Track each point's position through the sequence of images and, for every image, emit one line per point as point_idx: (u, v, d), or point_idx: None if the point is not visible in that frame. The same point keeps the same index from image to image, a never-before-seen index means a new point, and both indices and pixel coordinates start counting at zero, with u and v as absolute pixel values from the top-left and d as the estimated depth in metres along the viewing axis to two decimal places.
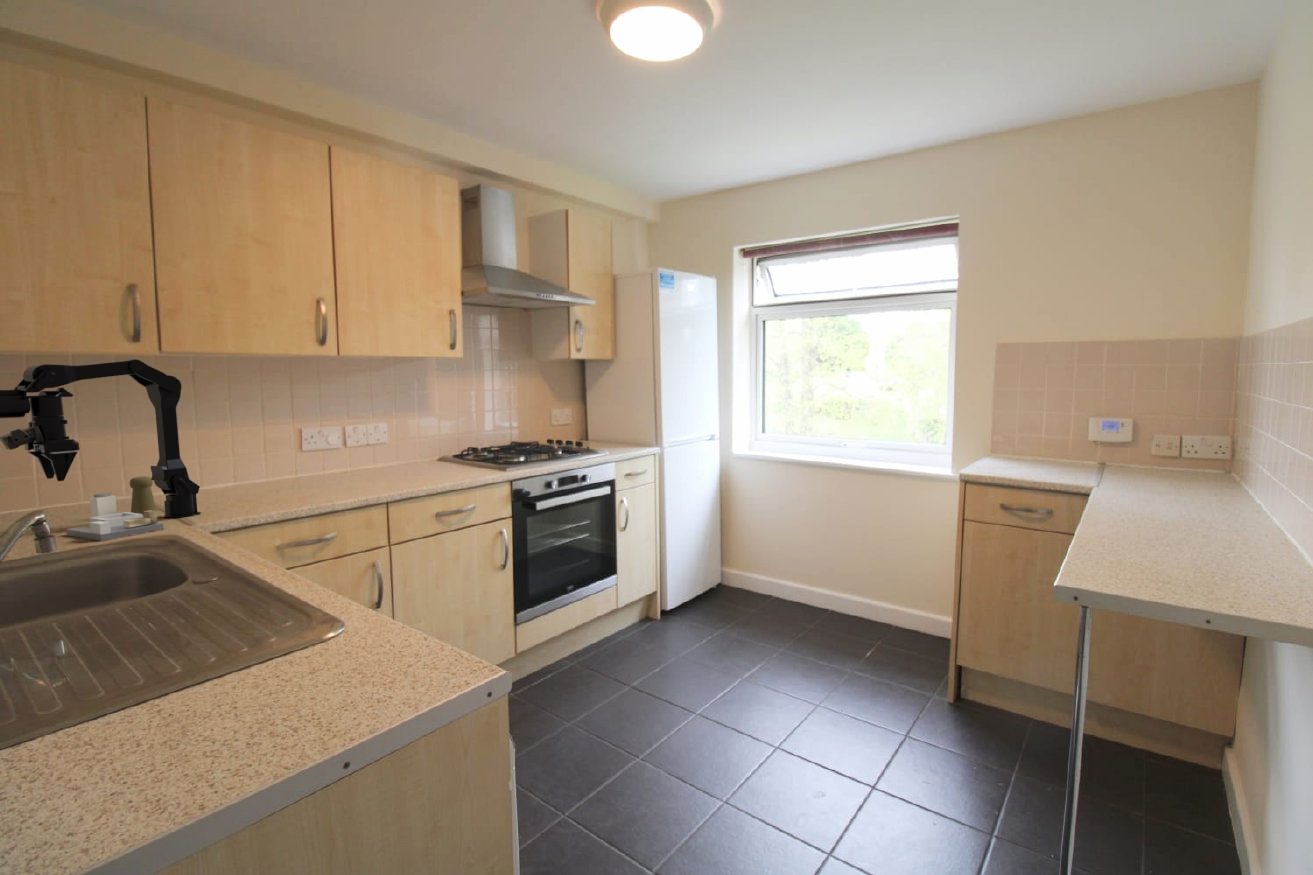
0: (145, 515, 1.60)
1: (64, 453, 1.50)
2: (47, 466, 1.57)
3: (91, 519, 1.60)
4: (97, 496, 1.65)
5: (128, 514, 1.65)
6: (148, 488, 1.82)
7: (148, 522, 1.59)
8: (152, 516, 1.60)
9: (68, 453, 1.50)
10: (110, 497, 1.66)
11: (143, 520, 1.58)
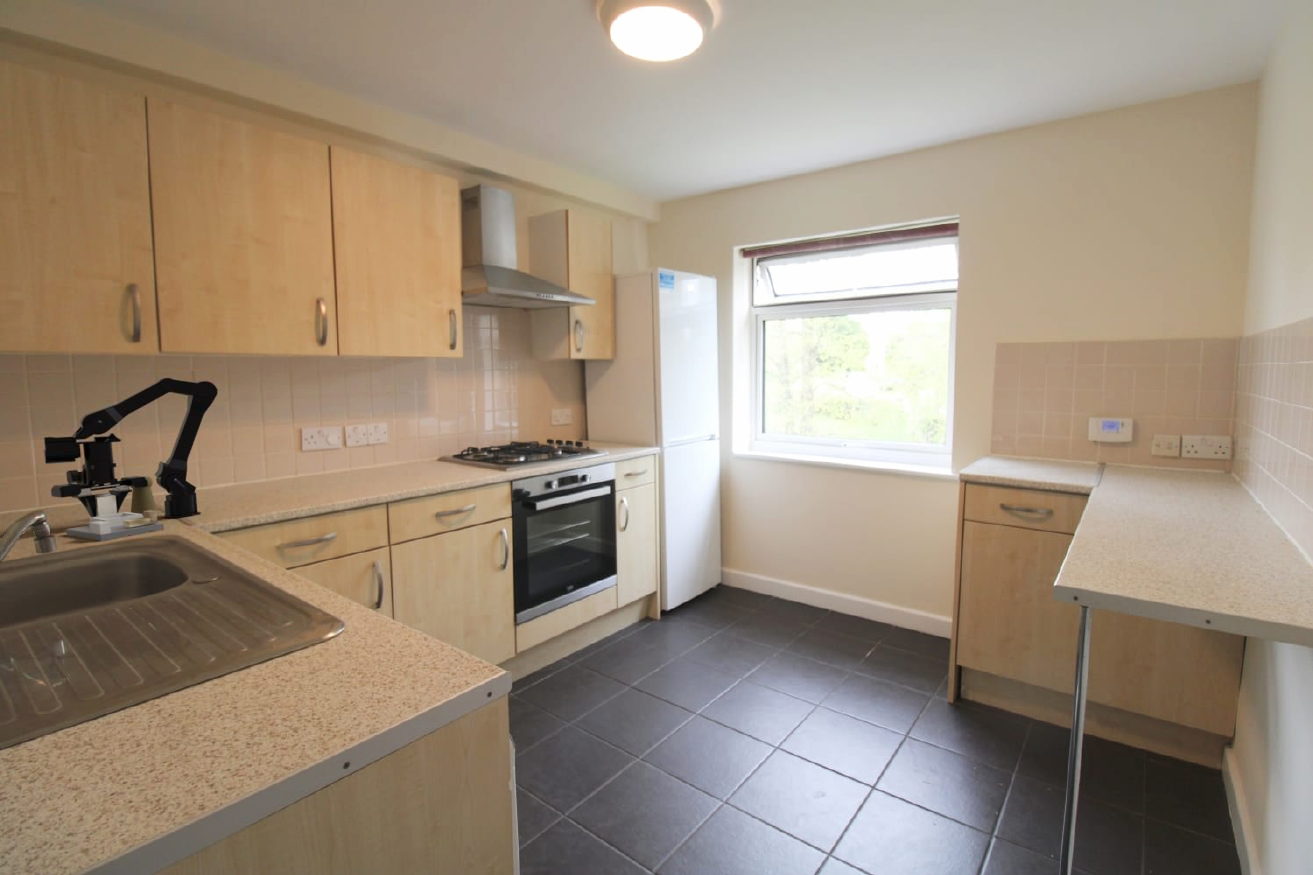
0: (145, 515, 1.60)
1: (76, 496, 1.61)
2: None
3: (91, 519, 1.60)
4: (97, 496, 1.65)
5: (128, 514, 1.65)
6: (148, 488, 1.82)
7: (148, 522, 1.59)
8: (152, 516, 1.60)
9: (78, 497, 1.61)
10: (110, 497, 1.66)
11: (143, 520, 1.58)
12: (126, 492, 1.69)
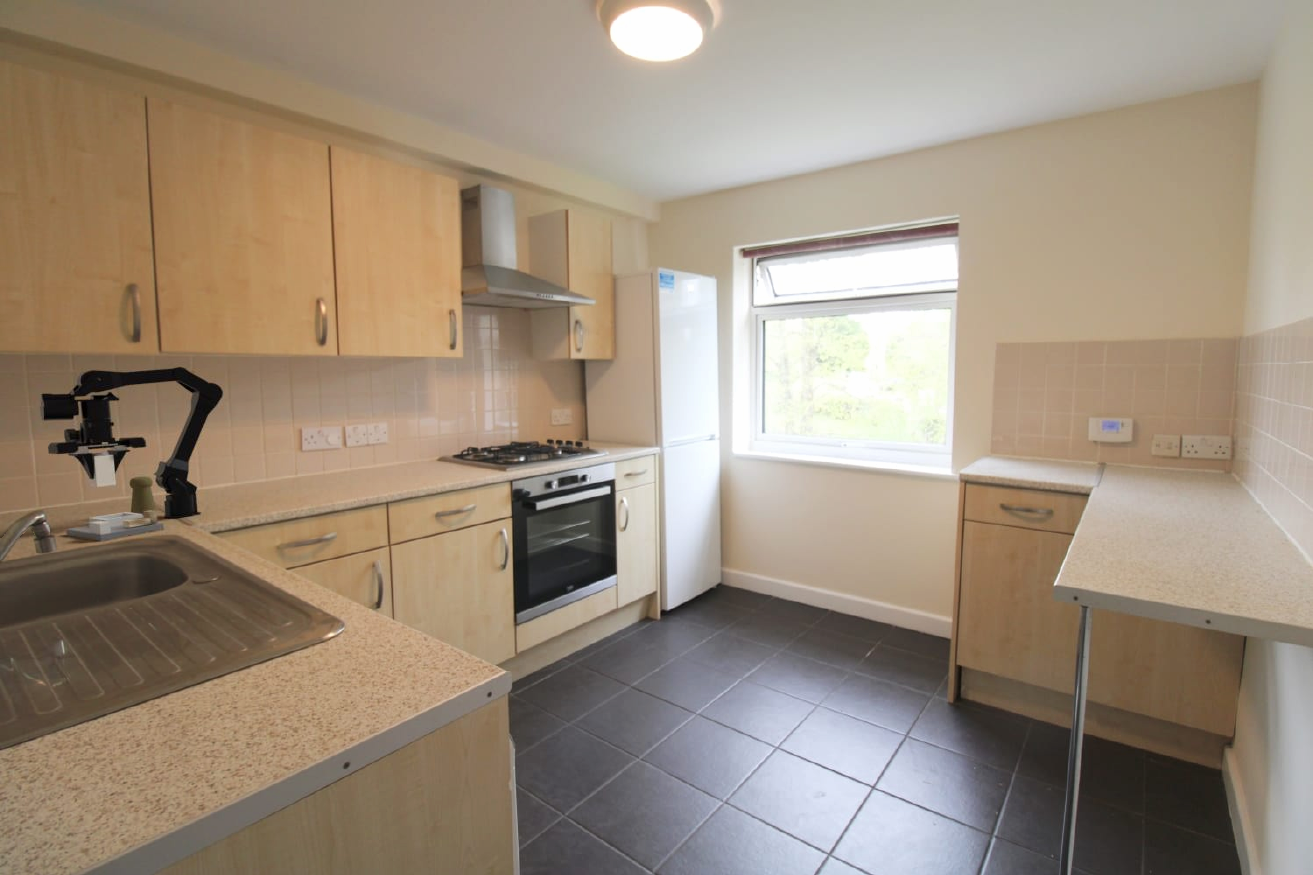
0: (145, 515, 1.60)
1: (73, 454, 1.60)
2: None
3: (91, 519, 1.60)
4: (95, 455, 1.63)
5: (128, 514, 1.65)
6: (148, 488, 1.82)
7: (148, 522, 1.59)
8: (152, 516, 1.60)
9: (75, 454, 1.59)
10: (108, 456, 1.65)
11: (143, 520, 1.58)
12: (124, 452, 1.67)
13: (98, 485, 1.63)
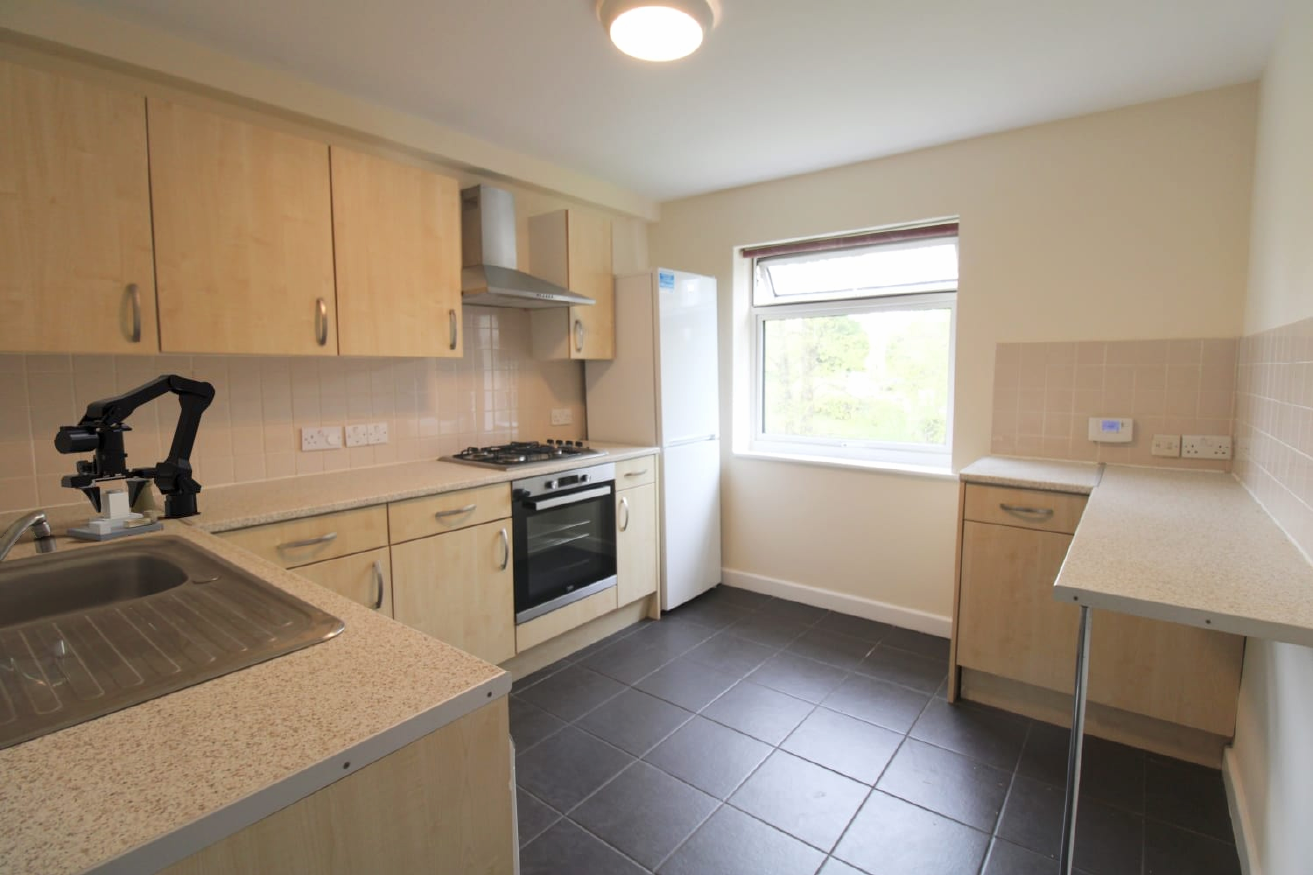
0: (145, 515, 1.60)
1: (80, 488, 1.55)
2: (130, 496, 1.65)
3: (91, 519, 1.60)
4: (109, 492, 1.60)
5: None
6: (148, 488, 1.82)
7: (148, 522, 1.59)
8: (152, 516, 1.60)
9: (82, 488, 1.55)
10: (122, 494, 1.62)
11: (143, 520, 1.58)
12: (143, 482, 1.65)
13: None
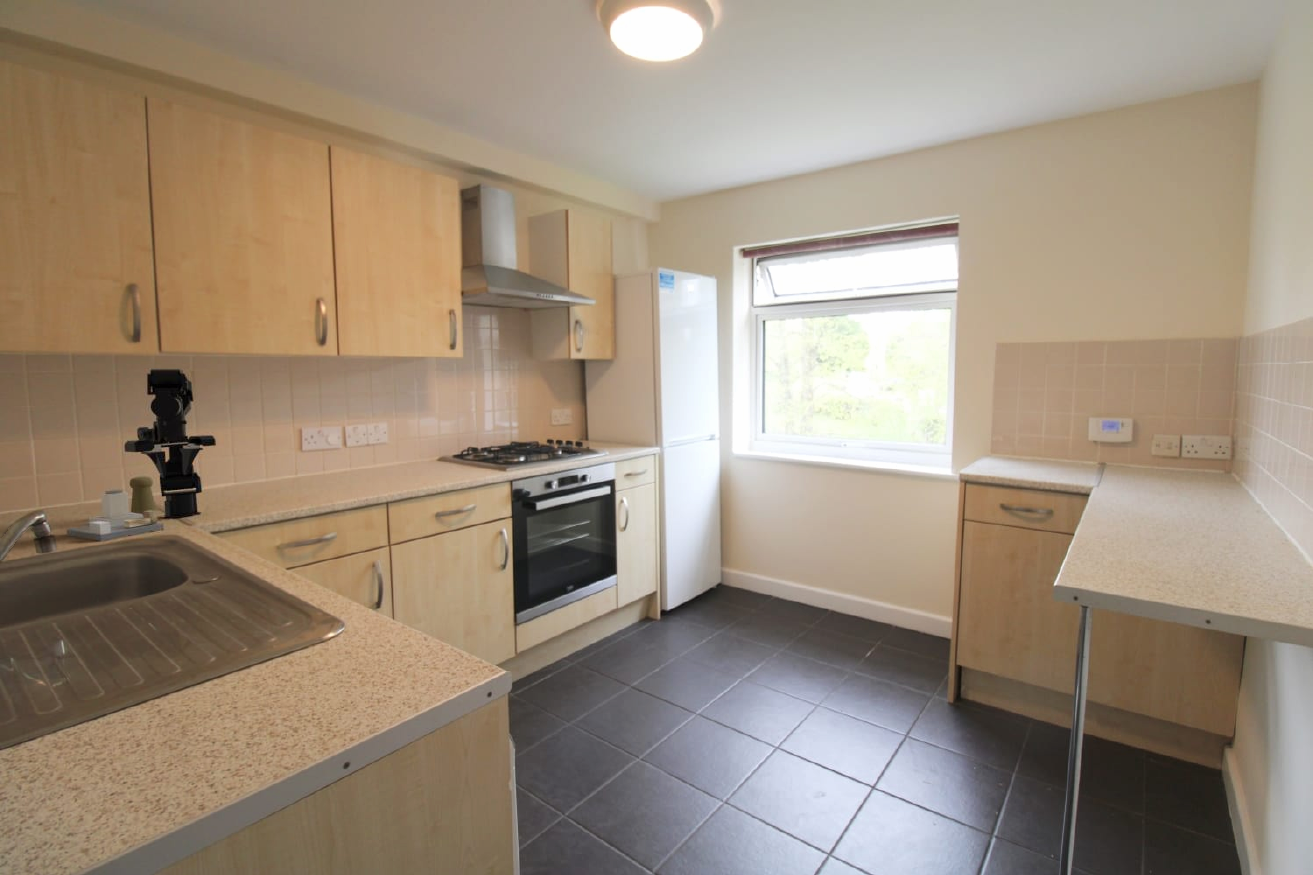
0: (145, 515, 1.60)
1: (147, 452, 1.60)
2: (184, 463, 1.68)
3: (91, 519, 1.60)
4: (109, 493, 1.60)
5: None
6: (148, 488, 1.82)
7: (148, 522, 1.59)
8: (152, 516, 1.60)
9: (148, 453, 1.59)
10: (122, 494, 1.62)
11: (143, 520, 1.58)
12: (197, 450, 1.68)
13: None
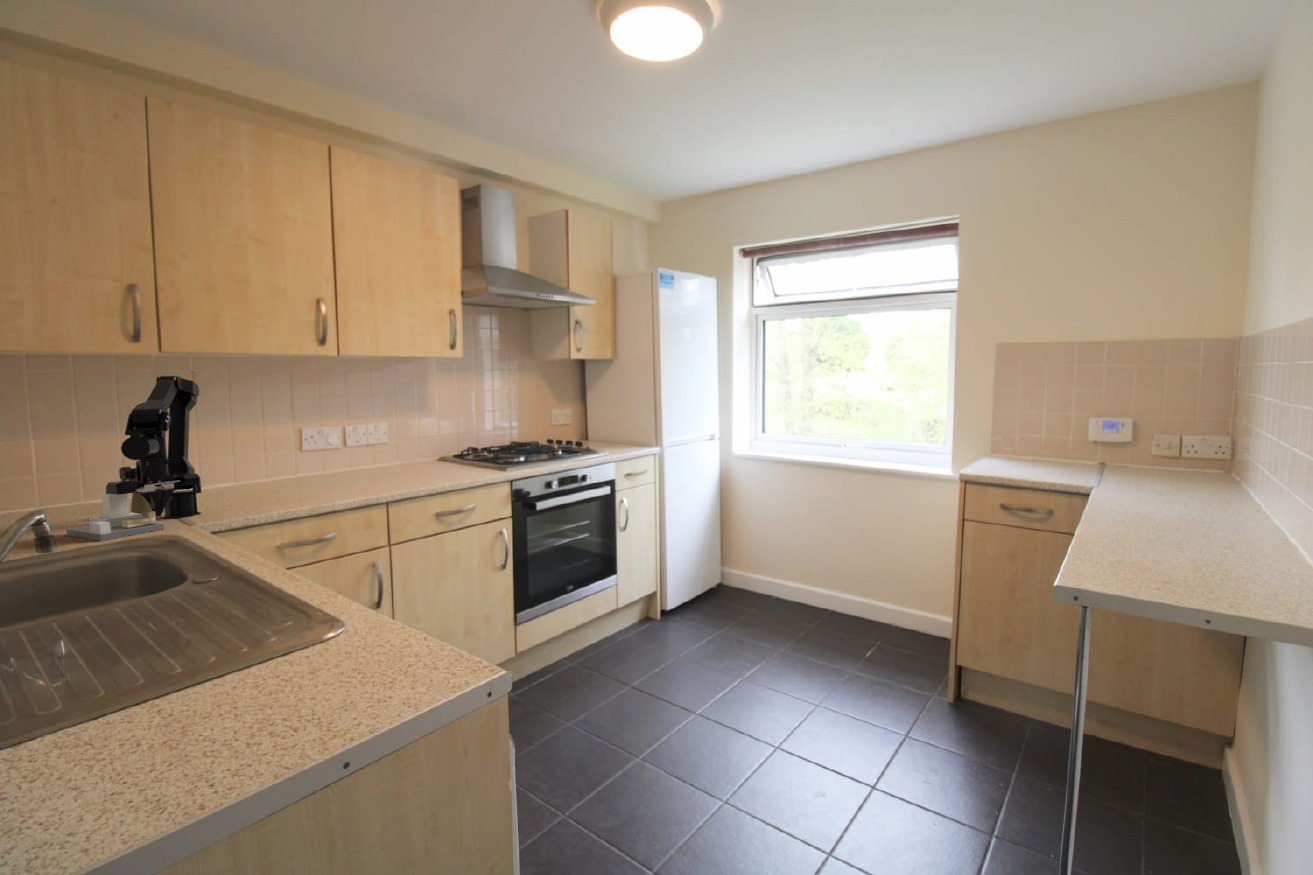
0: (143, 515, 1.60)
1: (140, 492, 1.58)
2: None
3: (91, 519, 1.60)
4: None
5: None
6: None
7: (146, 522, 1.59)
8: (150, 516, 1.60)
9: (142, 493, 1.58)
10: (122, 494, 1.62)
11: (141, 520, 1.58)
12: (171, 491, 1.63)
13: None
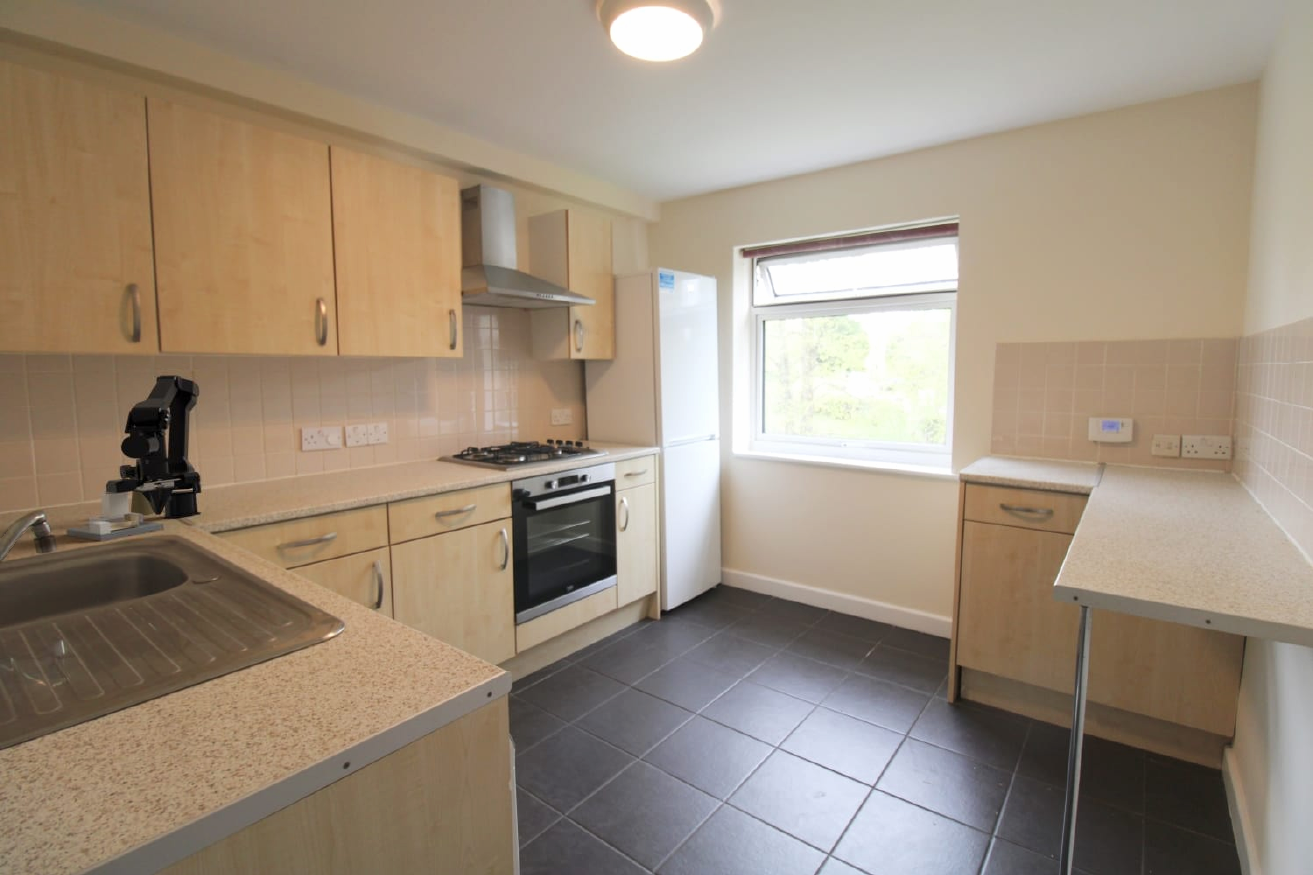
0: (126, 518, 1.57)
1: (140, 490, 1.59)
2: None
3: (91, 519, 1.60)
4: (109, 493, 1.60)
5: None
6: None
7: (129, 525, 1.56)
8: (133, 519, 1.56)
9: (142, 491, 1.58)
10: (122, 494, 1.62)
11: (124, 523, 1.55)
12: (171, 489, 1.63)
13: None
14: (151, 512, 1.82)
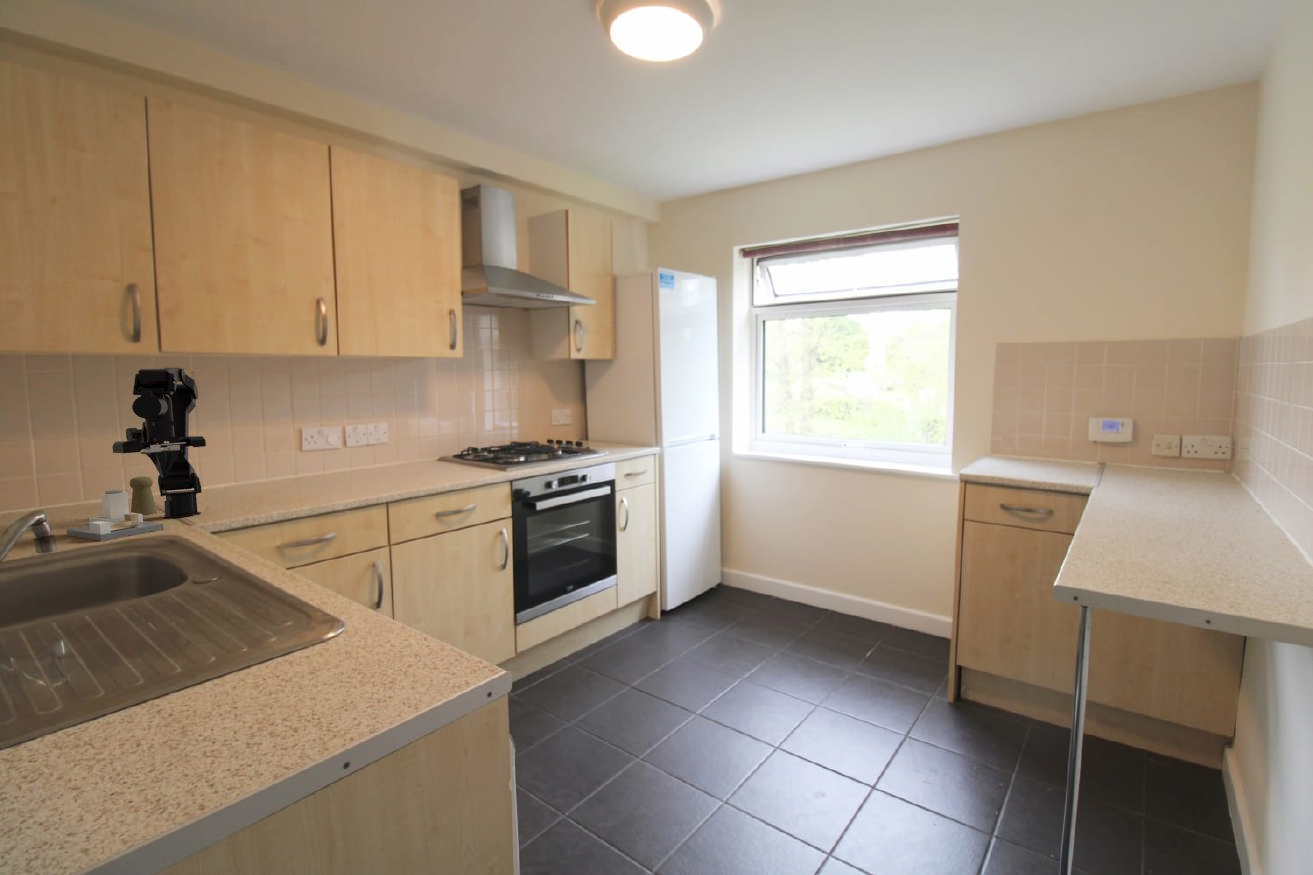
0: (126, 518, 1.57)
1: (146, 452, 1.60)
2: None
3: (91, 519, 1.60)
4: (109, 493, 1.60)
5: None
6: (148, 488, 1.82)
7: (129, 525, 1.56)
8: (133, 519, 1.56)
9: (148, 453, 1.59)
10: (122, 494, 1.62)
11: (124, 523, 1.55)
12: (177, 452, 1.64)
13: None
14: (151, 512, 1.82)
